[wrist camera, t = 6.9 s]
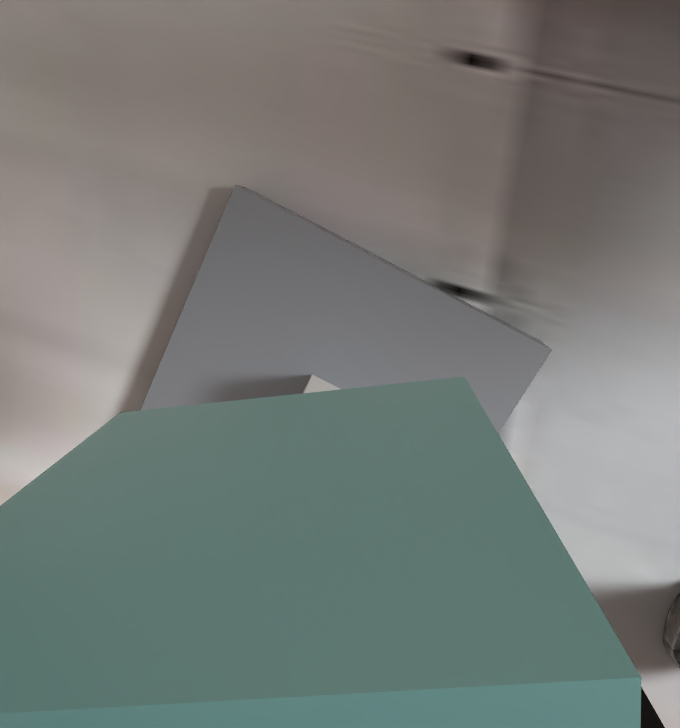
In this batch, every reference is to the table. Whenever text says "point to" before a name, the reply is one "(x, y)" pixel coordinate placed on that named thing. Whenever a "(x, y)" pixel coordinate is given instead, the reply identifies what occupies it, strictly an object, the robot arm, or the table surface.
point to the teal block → (300, 575)
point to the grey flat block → (326, 322)
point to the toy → (673, 632)
